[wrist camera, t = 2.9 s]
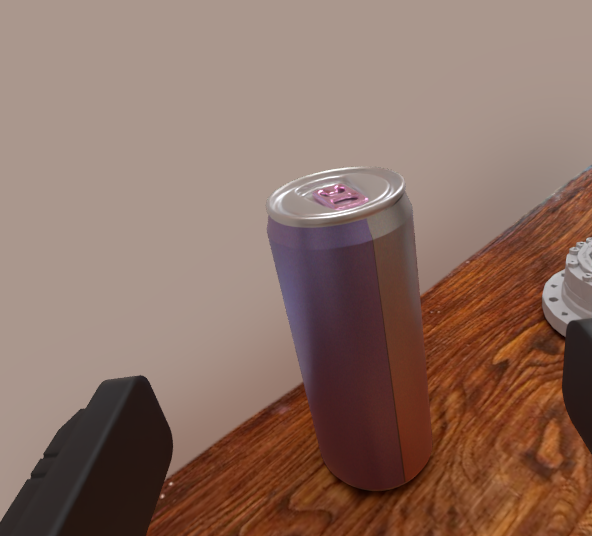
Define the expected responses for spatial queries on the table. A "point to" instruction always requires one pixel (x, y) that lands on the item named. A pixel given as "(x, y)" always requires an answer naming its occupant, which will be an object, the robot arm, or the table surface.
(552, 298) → the mechanical component
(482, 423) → the table surface
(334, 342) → the beverage can
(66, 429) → the robot arm
